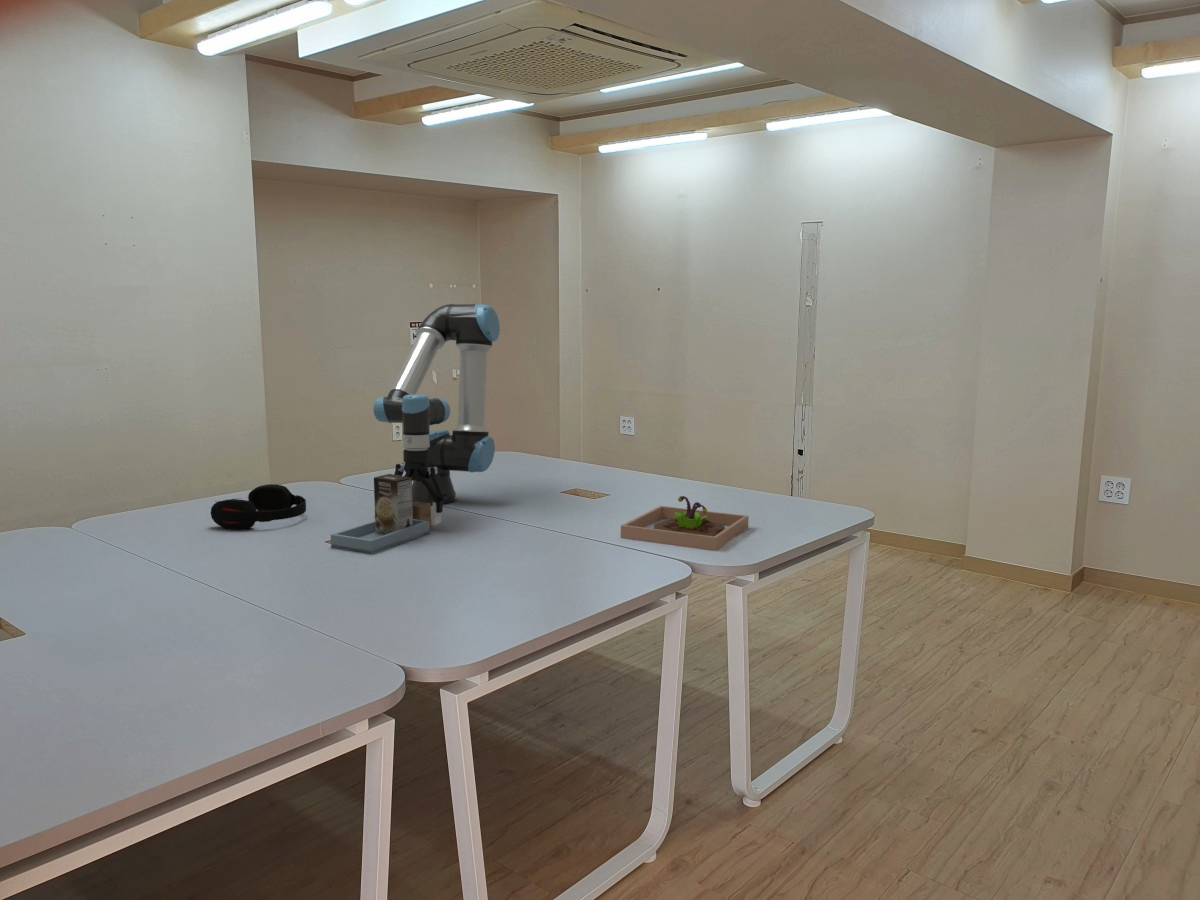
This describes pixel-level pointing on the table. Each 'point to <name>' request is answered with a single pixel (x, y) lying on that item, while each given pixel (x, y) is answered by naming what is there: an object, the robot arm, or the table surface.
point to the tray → (376, 537)
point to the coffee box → (392, 503)
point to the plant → (690, 522)
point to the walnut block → (422, 511)
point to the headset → (258, 508)
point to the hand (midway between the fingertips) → (418, 521)
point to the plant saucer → (638, 532)
